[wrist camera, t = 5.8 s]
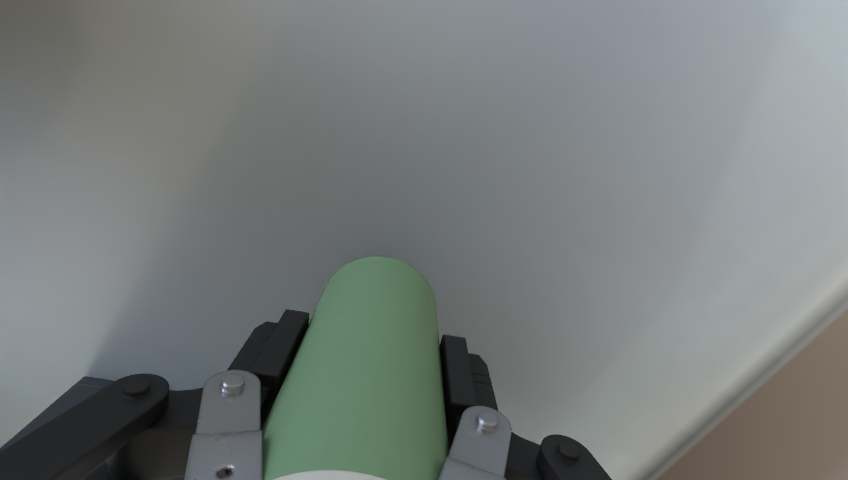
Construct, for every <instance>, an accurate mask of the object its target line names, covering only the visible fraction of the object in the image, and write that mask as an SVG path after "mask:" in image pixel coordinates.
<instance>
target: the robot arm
mask: <svg viewBox="0 0 848 480" xmlns="http://www.w3.org/2000/svg"><path fill="white" fill-rule="evenodd" d="M308 324H309V313H307V312H301V311H295V310H288V309H286V310H285V312H284V314H283V315H282V317H281V319H280V321H279V322H278V323H273V322H265V323H263V324H262V325H260V326H258V327H256V328H255V329H254V330H253V332H252V333H251V335H250V336H249V338H248V340H247V341H246V342H245V344H244V346H243V347H242V349H241V350H240V352H239V353H238V355H237V356H236V358H235V359H234V361H233V362H232V364H231V365H230V367H229V368H228V370H227V371H222V372H219V373H217V374H215V375H213V376H211V377H210V378H209V379H208V380H207V381H206V382H205V384H204V387H203V388H200V389H195V390H184V391H169V384H168V382H167V381H166V380H165V379H164V378H162V377H160V376H158V375H153V374H136V375H130V376H127V377H124V378H121V379H119V380H117V381H115V382H113V383H112V384H110V385H108V386H107V387H105V388H103V389H102V390H100V391H98V392H97V393H95V394H94V395H92V396H90V397H89V398H87V399H85V400H84V401H82V402H80V403H79V404H77V405H76V406H74V407H72V408H71V409H69V410H67V411H66V412H64V413H62V414H61V415H59V416H58V417H56V418H54V419H53V420H51V421H49V422H48V423H46V424H44V425H43V426H41V427H40V428H38V429H36V430H35V431H33V432H31V433H30V434H28V435H26V436H25V437H23V438H22V439H20V440H18V441H17V442H15V443H13V444H12V445H10V446H8V447H7V448H5V449H4V450H2V451H0V480H166V479H174V478H181V477H185V478H184V480H262V428H263V426H264V424H265V422H266V419H267V417H268V415H269V413H270V410H271V408H272V406H273V404H274V401H275V399H276V397H277V395H278V393H279V390H280V388H281V386H282V384H283V381H284V379H285V377H286V375H287V372H288V370H289V368H290V366H291V363H292V361H293V359H294V357H295V354H296V352H297V350H298V348H299V345H300V343H301V341H302V339H303V337H304V334H305V332H306V330H307V328H308ZM440 355H441V366H442V378H443V389H444V401H445V412H446V424H447V435H448V447H449V455H448V456H446V459H445V461H444V464H443V467H442V470H441V473H440V476H439V479H438V480H612V479H611V478H610V477H609V476H608V474H607V473H606V472H605V471H604V469H603V468H602V467H601V466H600V464H599V463H598V462H597V461H596V459H595V458H594V457H593V456H592V454H591V453H590V452H589V451H588V450H587V449H586V448H585V447H584V446H583V445H582V444H580V443H579V442H577V441H576V440H574V439H572V438H569V437H567V436H563V435H549V436H547V437H545V438H544V439H543V440H542V443H541V445H538V444H536V443H533V442H531V441H528V440H525V439H523V438H521V437H519V436H517V435H516V434H514V433H513V432H512V428H511V424H510V422H509V421H508V419H507V418H506V417H505V416H504V415H503V414H501V413H500V412H498V408H497V404H496V400H495V395H494V391H493V387H492V386H491V384H492V383H491V379H490V377H489V371H488V367H487V364H486V363H485V362H484V361H483V360H482V359H481V357H480V356H479V355H475V354H468V350H467V345H466V340H465V338H462V337H456V336H450V335H443V336H442V339H441V343H440ZM106 459H107V461H106V462H105V463H103V464H102V465H101V466H99V467H98V468H97V469H96V470H94V471H93V472H92V473H90V474H89V475H88V476H87V477H85V476H86V475H87V474H88V473H89V472H90V471H92V470H93V469H94V468H96V467H97V466H98V465H99V464H101V463H102V462H103V461H105V460H106Z"/></svg>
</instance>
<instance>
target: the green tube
mask: <svg viewBox="0 0 848 480" xmlns="http://www.w3.org/2000/svg"><path fill="white" fill-rule="evenodd" d="M448 455H449V447H448V435H447V424H446V412H445V401H444V389H443V378H442V366H441V355H440V343H439V332H438V320H437V309H436V301H435V296H434V293H433V291H432V288H431V286H430V285H429V283H428V281H427V280H426V279H425V278H424V276H423V275H422V274H421V273H420V272H419V271H418V270H416V269H415V268H414V267H412V266H411V265H409V264H407V263H405V262H403V261H401V260H398V259H395V258H390V257H384V256H371V257H364V258H361V259H357V260H355V261H352V262H350V263H348V264H346V265H345V266H343V267H342V268H341V269H339V270H338V271H337V272H336V273H335V274H334V275H333V276H332V278H331V279H330V280H329V282H328V284H327V285H326V287H325V290H324V292H323V294H322V296H321V298H320V301H319V303H318V305H317V307H316V310H315V312H314V314H313V316H312V319H311V321H310V323H309V325H308V328H307V330H306V332H305V334H304V337H303V339H302V341H301V343H300V345H299V348H298V350H297V352H296V354H295V357H294V359H293V361H292V363H291V366H290V368H289V370H288V372H287V375H286V377H285V379H284V381H283V384H282V386H281V388H280V390H279V393H278V395H277V397H276V399H275V401H274V404H273V406H272V408H271V410H270V413H269V415H268V417H267V419H266V422H265V424H264V426H263V428H262V480H438V479H439V476H440V473H441V470H442V467H443V464H444V461H445V459H446V456H448Z"/></svg>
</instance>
